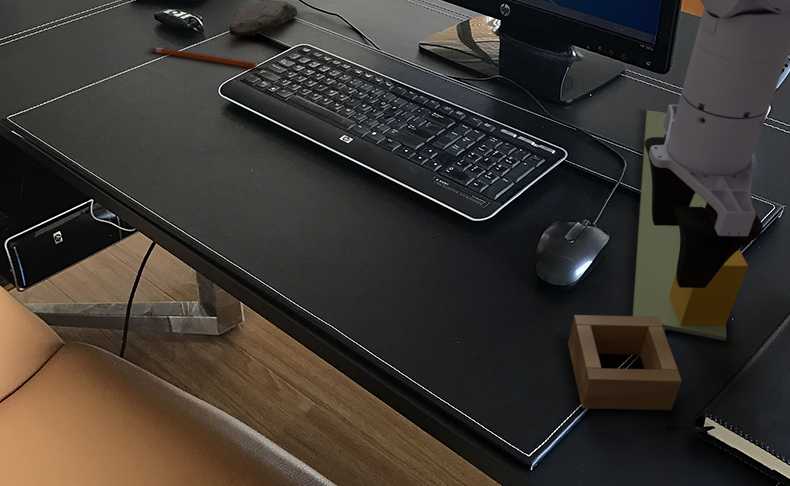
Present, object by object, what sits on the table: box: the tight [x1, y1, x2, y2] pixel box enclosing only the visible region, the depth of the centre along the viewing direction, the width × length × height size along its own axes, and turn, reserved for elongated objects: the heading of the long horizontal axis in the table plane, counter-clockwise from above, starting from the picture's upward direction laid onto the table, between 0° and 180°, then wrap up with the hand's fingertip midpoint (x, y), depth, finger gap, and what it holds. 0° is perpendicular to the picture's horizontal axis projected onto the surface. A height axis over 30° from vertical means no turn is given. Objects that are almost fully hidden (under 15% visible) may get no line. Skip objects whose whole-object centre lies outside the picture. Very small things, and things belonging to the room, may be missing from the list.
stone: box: [228, 0, 298, 38], centre depth 119 cm, size 13×6×5 cm
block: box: [669, 249, 749, 326], centre depth 69 cm, size 4×4×7 cm
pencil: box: [151, 46, 260, 69], centre depth 111 cm, size 1×18×1 cm, turn 73°
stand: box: [567, 314, 683, 411], centre depth 65 cm, size 7×7×4 cm
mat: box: [632, 109, 727, 342], centre depth 85 cm, size 40×8×1 cm, turn 164°
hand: (677, 252), depth 62 cm, fingers open, 7 cm apart
